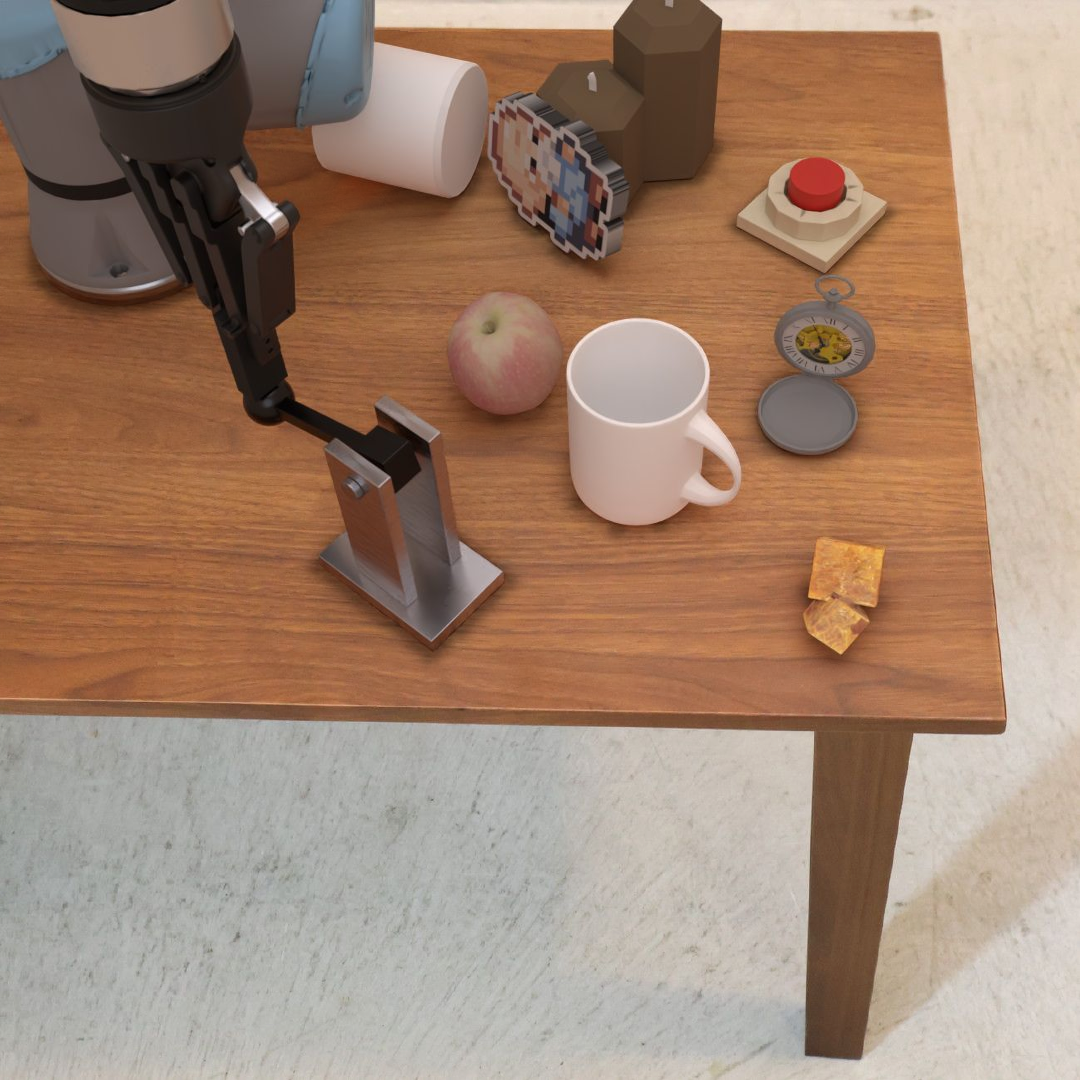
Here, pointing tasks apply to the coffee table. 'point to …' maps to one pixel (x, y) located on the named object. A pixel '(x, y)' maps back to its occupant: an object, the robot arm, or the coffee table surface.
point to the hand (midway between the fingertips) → (263, 383)
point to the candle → (648, 90)
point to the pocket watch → (816, 374)
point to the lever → (337, 433)
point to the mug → (642, 423)
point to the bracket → (405, 535)
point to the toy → (558, 175)
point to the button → (816, 184)
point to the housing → (811, 220)
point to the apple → (505, 353)
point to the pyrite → (843, 589)
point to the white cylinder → (412, 124)
